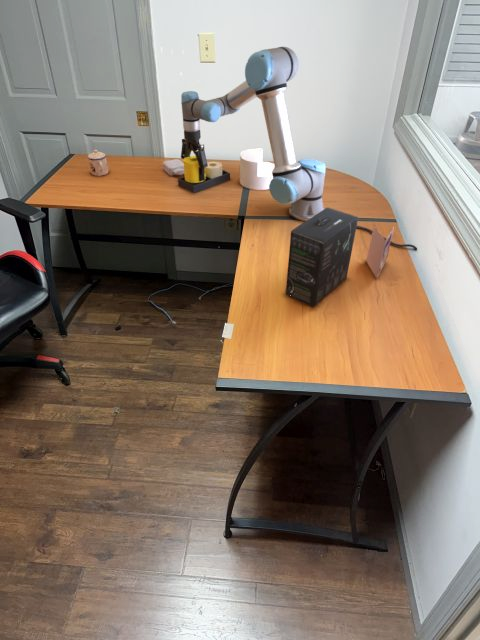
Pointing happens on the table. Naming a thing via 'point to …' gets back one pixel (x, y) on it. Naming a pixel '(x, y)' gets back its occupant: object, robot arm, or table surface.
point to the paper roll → (213, 169)
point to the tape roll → (191, 169)
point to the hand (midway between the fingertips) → (195, 177)
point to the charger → (173, 167)
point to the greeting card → (378, 251)
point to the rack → (203, 182)
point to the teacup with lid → (98, 163)
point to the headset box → (320, 255)
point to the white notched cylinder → (255, 170)
